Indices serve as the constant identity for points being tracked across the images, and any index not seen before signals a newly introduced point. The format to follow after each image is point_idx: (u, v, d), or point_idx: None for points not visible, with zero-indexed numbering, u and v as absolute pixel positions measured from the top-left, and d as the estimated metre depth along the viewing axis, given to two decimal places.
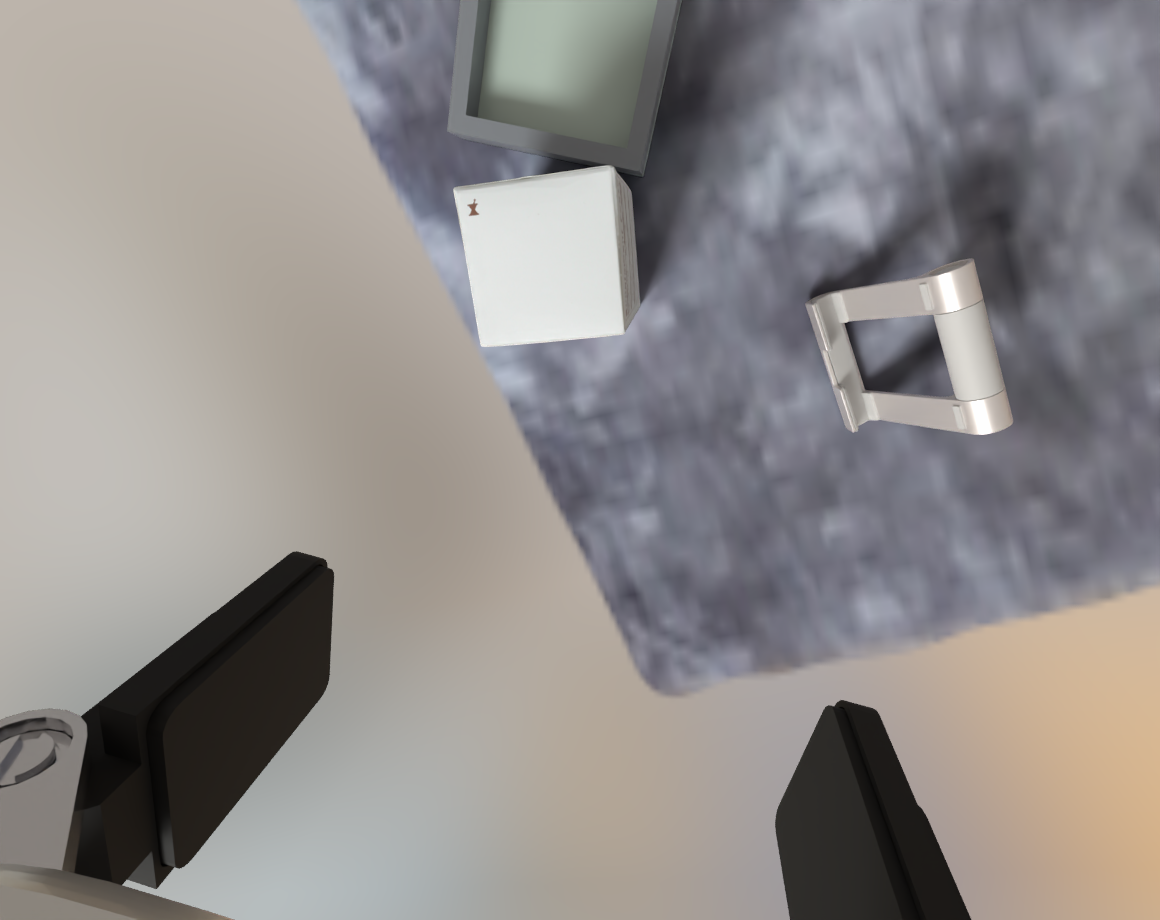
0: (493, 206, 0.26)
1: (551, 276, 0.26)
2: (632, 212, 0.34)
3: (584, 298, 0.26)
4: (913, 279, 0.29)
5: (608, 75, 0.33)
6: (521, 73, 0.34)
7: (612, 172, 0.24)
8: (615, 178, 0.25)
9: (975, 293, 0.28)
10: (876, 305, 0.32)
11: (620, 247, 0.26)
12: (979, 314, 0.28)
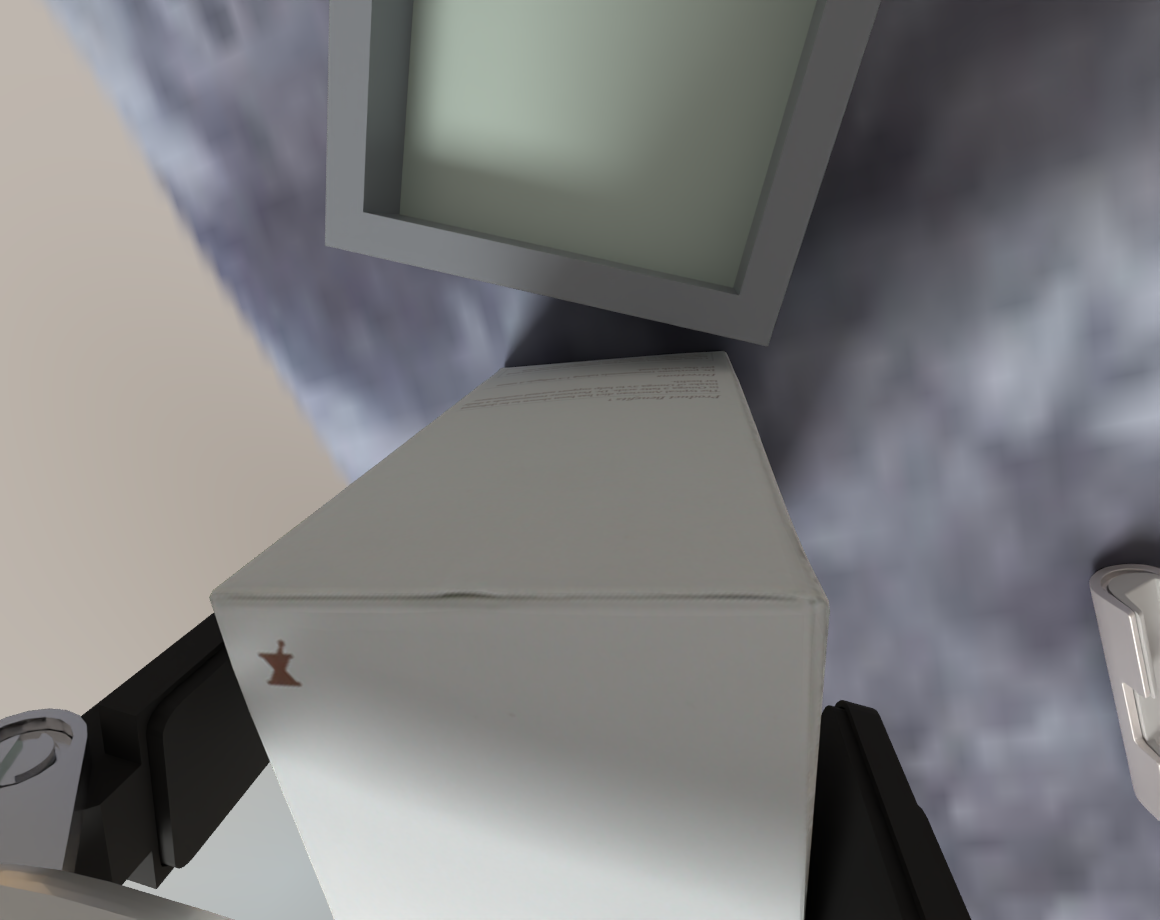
0: (346, 670, 0.07)
1: (560, 872, 0.08)
2: None
3: None
4: None
5: (691, 117, 0.14)
6: (490, 112, 0.15)
7: (819, 619, 0.06)
8: (824, 632, 0.06)
9: None
10: None
11: None
12: None
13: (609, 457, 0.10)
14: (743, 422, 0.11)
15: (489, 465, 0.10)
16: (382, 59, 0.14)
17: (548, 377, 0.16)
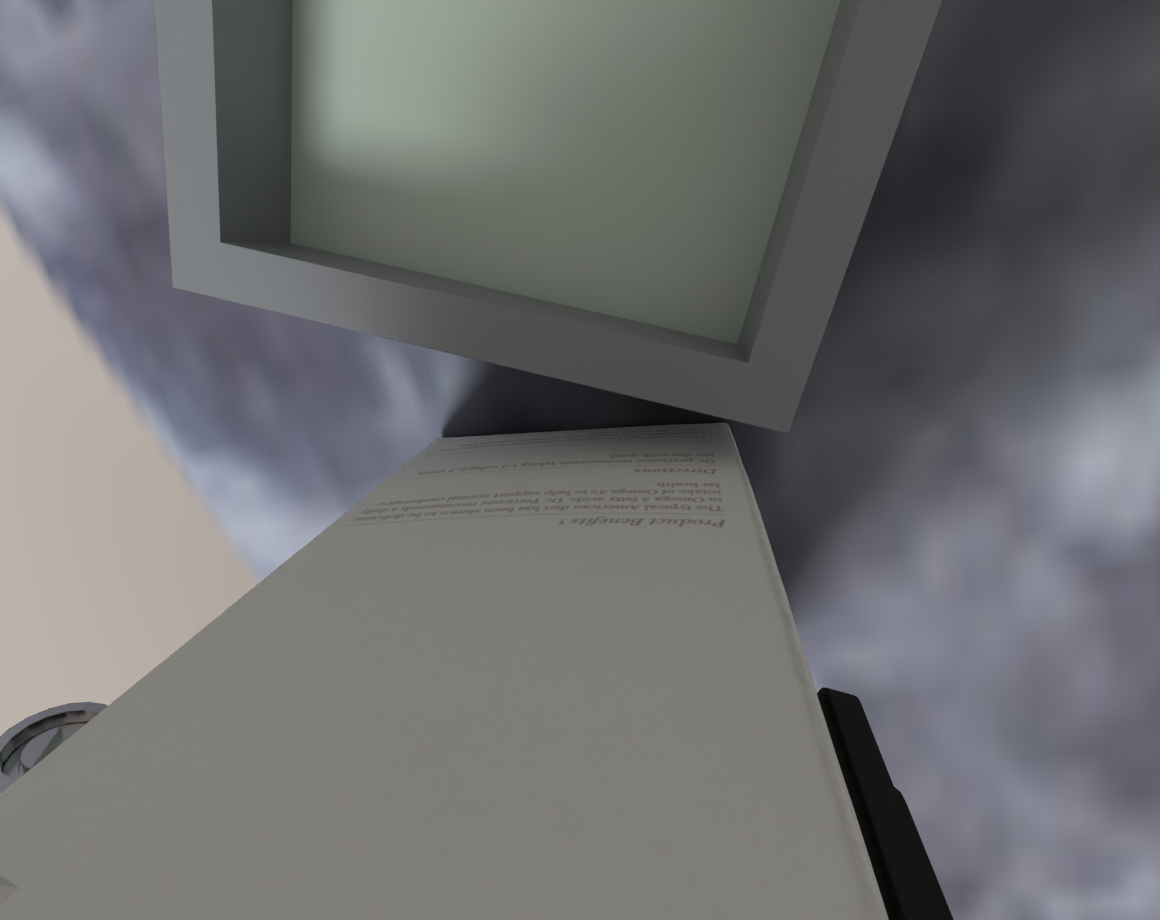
0: None
1: None
2: None
3: None
4: None
5: (679, 113, 0.10)
6: (404, 106, 0.11)
7: None
8: None
9: None
10: None
11: None
12: None
13: (535, 694, 0.05)
14: (766, 594, 0.07)
15: (329, 693, 0.06)
16: (239, 28, 0.10)
17: (488, 463, 0.12)
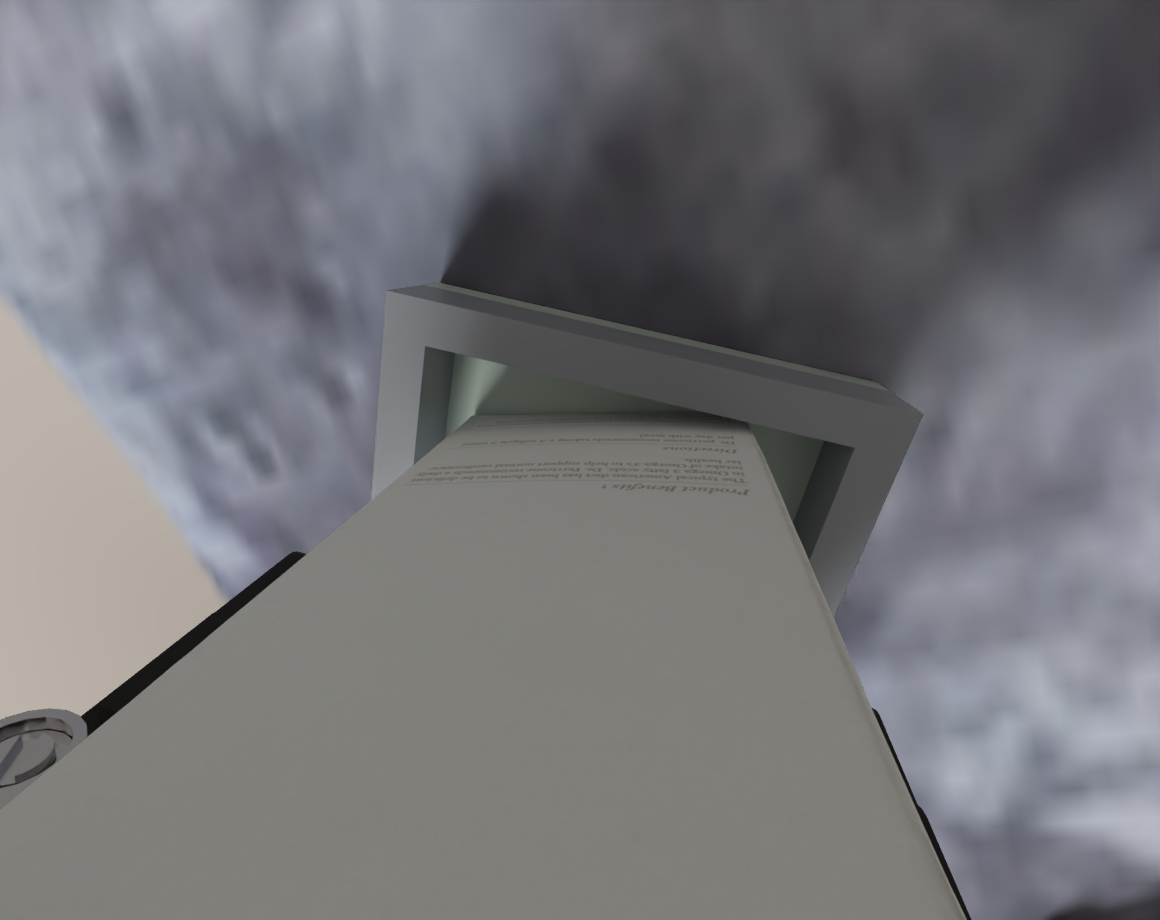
0: None
1: None
2: None
3: None
4: None
5: None
6: None
7: None
8: None
9: None
10: None
11: None
12: None
13: (604, 610, 0.06)
14: (788, 545, 0.08)
15: (428, 607, 0.07)
16: None
17: (527, 437, 0.13)
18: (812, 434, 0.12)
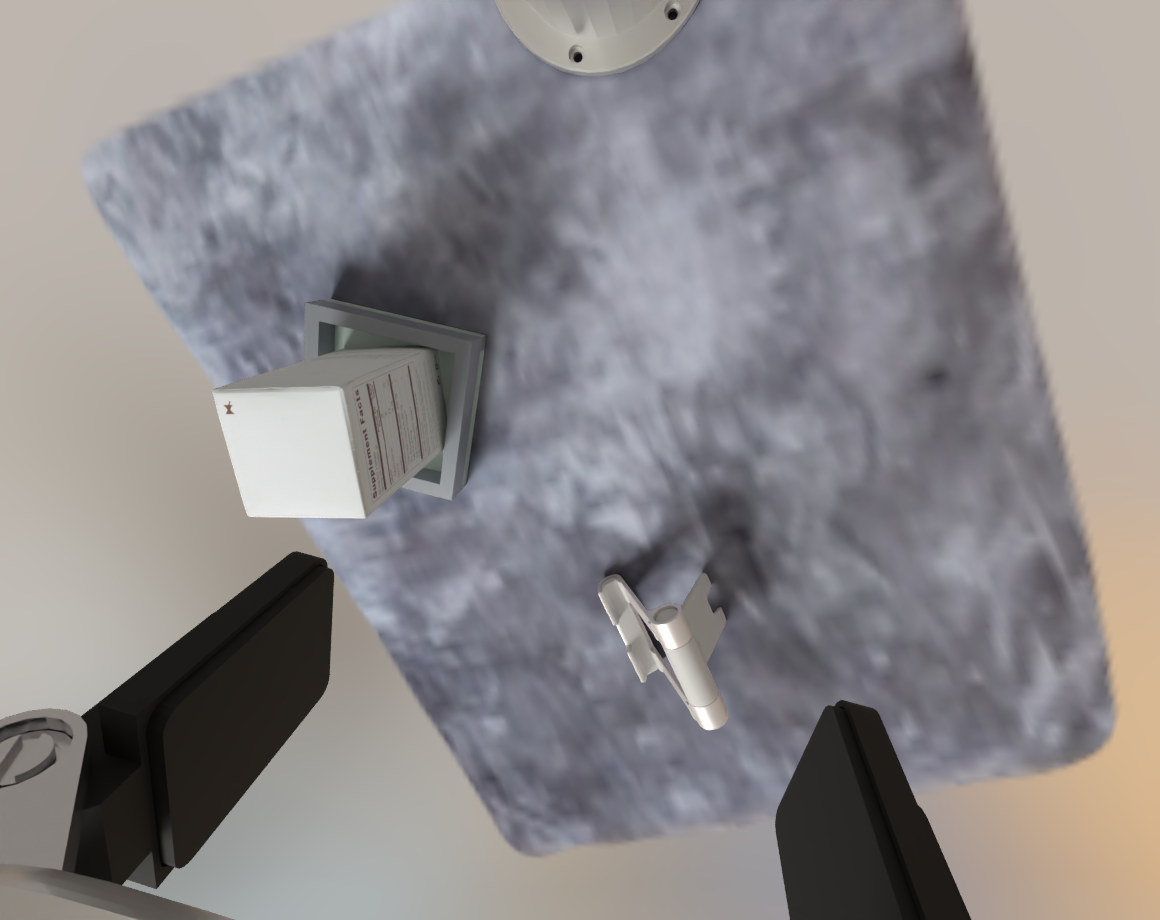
0: (245, 408, 0.29)
1: (299, 468, 0.30)
2: (430, 371, 0.38)
3: (328, 488, 0.30)
4: (646, 613, 0.38)
5: None
6: None
7: (341, 392, 0.28)
8: (345, 396, 0.28)
9: (682, 638, 0.36)
10: (637, 608, 0.41)
11: (356, 449, 0.29)
12: (687, 652, 0.36)
13: (333, 369, 0.32)
14: (387, 364, 0.33)
15: (299, 371, 0.32)
16: None
17: (352, 351, 0.38)
18: (441, 349, 0.37)
